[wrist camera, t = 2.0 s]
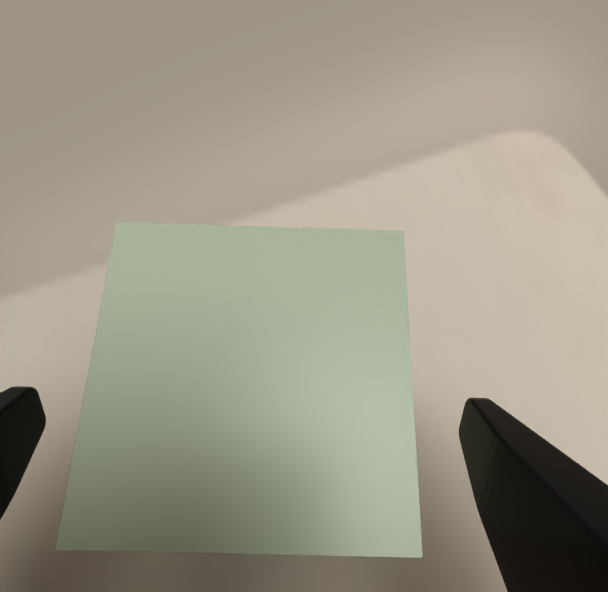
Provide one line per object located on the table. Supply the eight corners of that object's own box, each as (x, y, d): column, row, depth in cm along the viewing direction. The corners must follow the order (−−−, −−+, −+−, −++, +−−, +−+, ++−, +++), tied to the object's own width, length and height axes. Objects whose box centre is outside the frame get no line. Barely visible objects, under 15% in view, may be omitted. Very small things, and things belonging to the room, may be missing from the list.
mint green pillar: (351, 495, 16) (422, 557, 7) (187, 492, 16) (54, 549, 7) (349, 336, 18) (403, 231, 9) (204, 332, 18) (116, 222, 9)
